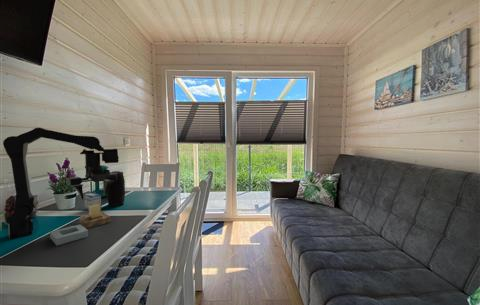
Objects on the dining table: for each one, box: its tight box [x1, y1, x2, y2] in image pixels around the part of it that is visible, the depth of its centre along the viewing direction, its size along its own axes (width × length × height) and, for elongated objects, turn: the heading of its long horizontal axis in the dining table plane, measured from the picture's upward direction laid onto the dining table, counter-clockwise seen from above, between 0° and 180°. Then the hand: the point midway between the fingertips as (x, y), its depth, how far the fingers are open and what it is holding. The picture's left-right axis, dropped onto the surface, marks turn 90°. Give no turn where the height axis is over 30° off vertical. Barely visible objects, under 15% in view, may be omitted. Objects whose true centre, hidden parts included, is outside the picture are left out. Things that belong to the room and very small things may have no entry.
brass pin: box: [88, 204, 101, 220], centre depth 104 cm, size 4×4×8 cm
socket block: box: [49, 223, 89, 246], centre depth 88 cm, size 10×10×2 cm
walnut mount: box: [78, 212, 112, 229], centre depth 104 cm, size 10×10×2 cm
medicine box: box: [84, 192, 102, 212], centre depth 122 cm, size 8×4×9 cm, turn 62°
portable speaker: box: [106, 170, 126, 208], centre depth 131 cm, size 9×9×20 cm
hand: (94, 197), depth 103 cm, fingers open, 9 cm apart
